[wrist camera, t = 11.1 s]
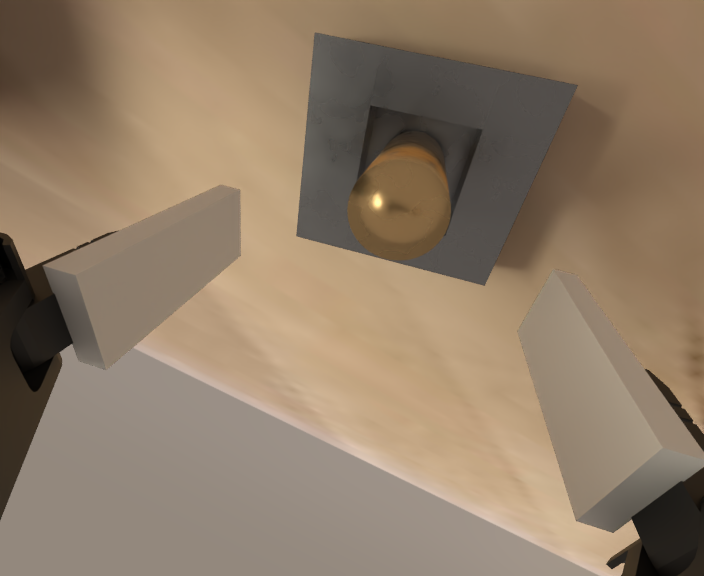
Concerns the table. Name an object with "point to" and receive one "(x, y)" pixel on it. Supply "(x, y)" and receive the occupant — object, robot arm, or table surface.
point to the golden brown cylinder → (402, 199)
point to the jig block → (441, 124)
